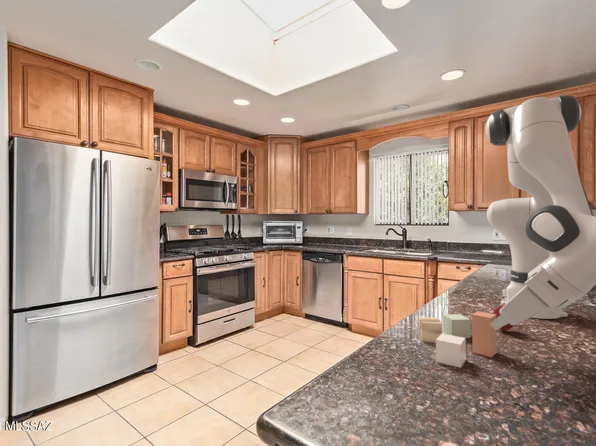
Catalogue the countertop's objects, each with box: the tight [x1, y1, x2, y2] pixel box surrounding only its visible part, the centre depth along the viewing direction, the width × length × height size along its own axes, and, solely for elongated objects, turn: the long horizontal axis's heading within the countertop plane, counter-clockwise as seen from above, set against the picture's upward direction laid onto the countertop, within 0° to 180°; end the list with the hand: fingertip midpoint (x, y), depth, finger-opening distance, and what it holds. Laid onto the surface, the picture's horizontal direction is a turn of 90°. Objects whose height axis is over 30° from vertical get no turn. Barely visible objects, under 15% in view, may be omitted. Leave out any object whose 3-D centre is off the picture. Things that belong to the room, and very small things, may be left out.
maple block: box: [418, 316, 443, 344], centre depth 85 cm, size 5×5×5 cm
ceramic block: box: [435, 333, 467, 369], centre depth 72 cm, size 5×5×5 cm
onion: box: [492, 303, 515, 332], centre depth 91 cm, size 6×6×8 cm
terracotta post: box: [471, 310, 498, 358], centre depth 76 cm, size 4×4×9 cm
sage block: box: [442, 313, 471, 339], centre depth 88 cm, size 5×5×5 cm
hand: (499, 322), depth 74 cm, fingers open, 8 cm apart
